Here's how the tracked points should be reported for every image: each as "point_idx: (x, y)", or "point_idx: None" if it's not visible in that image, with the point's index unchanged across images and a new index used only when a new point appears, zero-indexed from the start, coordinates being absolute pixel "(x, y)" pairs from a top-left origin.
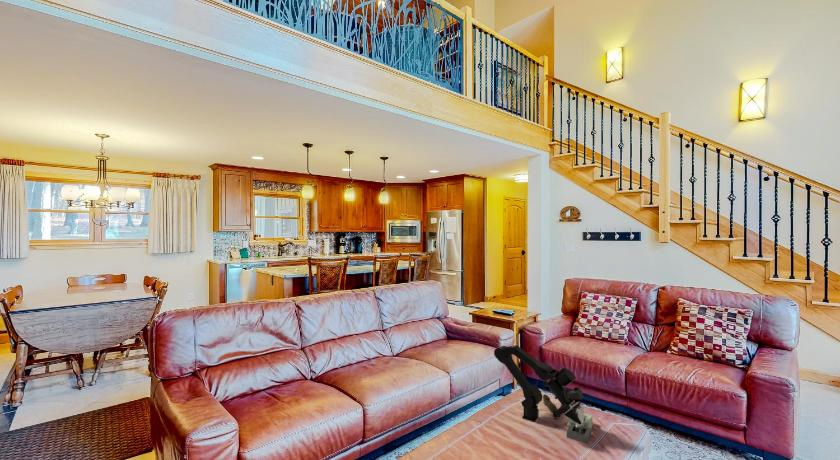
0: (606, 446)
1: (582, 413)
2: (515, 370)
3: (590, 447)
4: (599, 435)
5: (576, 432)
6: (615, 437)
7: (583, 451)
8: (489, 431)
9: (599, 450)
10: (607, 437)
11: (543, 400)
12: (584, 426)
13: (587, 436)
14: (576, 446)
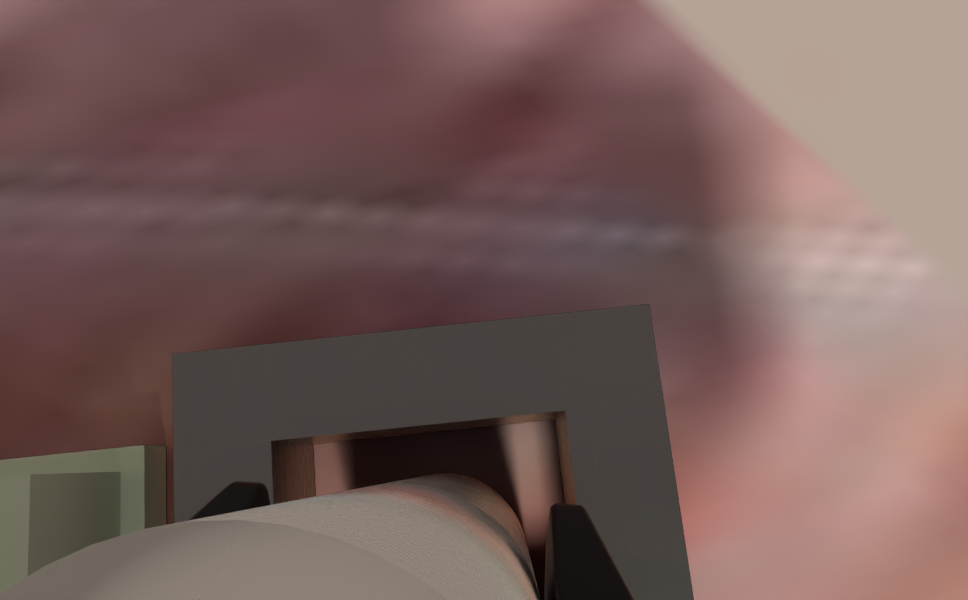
0: (470, 62)
1: (435, 534)
2: None
3: (704, 256)
4: (155, 256)
5: None
6: (59, 30)
7: (937, 311)
8: None
9: (687, 112)
10: (142, 129)
11: None
12: None
13: (618, 320)
14: (870, 472)
